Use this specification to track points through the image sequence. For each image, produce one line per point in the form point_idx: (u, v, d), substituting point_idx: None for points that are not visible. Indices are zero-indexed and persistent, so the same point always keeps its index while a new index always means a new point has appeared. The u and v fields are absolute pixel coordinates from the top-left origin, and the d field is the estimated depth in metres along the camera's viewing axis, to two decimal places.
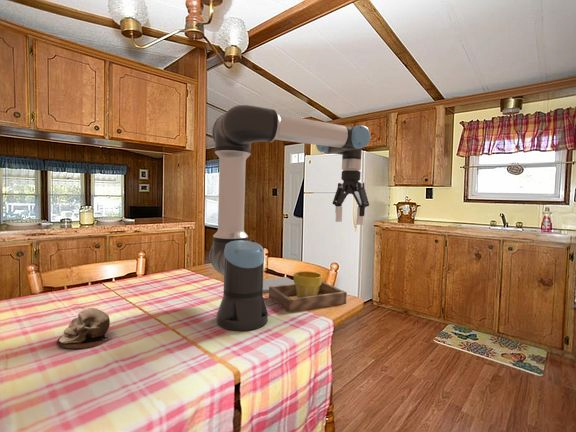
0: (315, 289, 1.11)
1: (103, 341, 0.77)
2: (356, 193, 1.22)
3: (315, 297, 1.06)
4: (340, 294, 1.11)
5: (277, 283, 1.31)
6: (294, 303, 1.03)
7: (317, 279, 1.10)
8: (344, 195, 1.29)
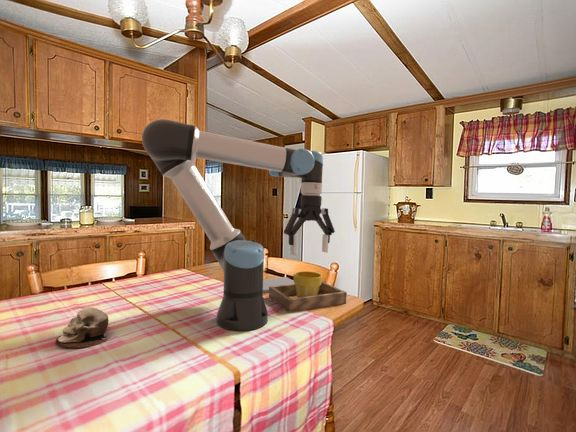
0: (315, 289, 1.11)
1: (102, 340, 0.78)
2: (299, 220, 1.11)
3: (315, 297, 1.06)
4: (340, 294, 1.11)
5: (277, 283, 1.31)
6: (294, 303, 1.03)
7: (317, 279, 1.10)
8: (318, 222, 1.15)
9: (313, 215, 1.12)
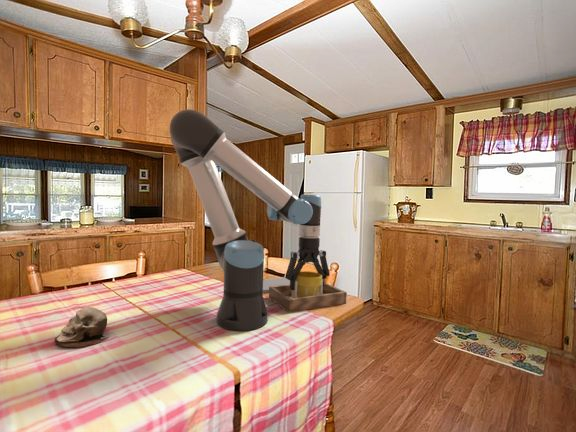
0: (315, 289, 1.11)
1: (101, 340, 0.78)
2: (298, 263, 1.12)
3: (315, 297, 1.06)
4: (340, 294, 1.11)
5: (277, 283, 1.31)
6: (294, 303, 1.03)
7: (317, 279, 1.10)
8: (315, 264, 1.15)
9: (311, 257, 1.13)
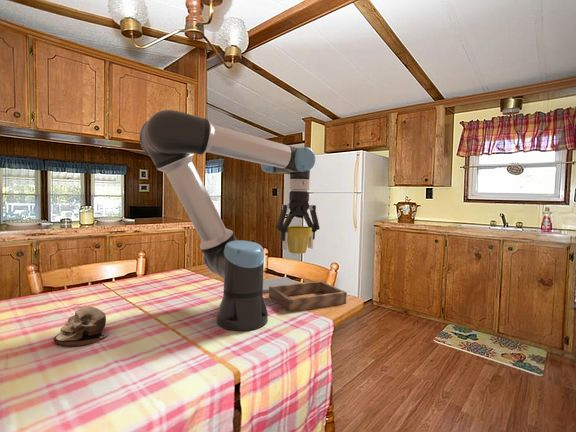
0: (304, 240, 1.16)
1: (100, 338, 0.79)
2: (288, 216, 1.18)
3: (315, 297, 1.06)
4: (340, 294, 1.11)
5: (277, 283, 1.31)
6: (294, 303, 1.03)
7: (306, 230, 1.15)
8: (305, 217, 1.20)
9: (301, 210, 1.18)
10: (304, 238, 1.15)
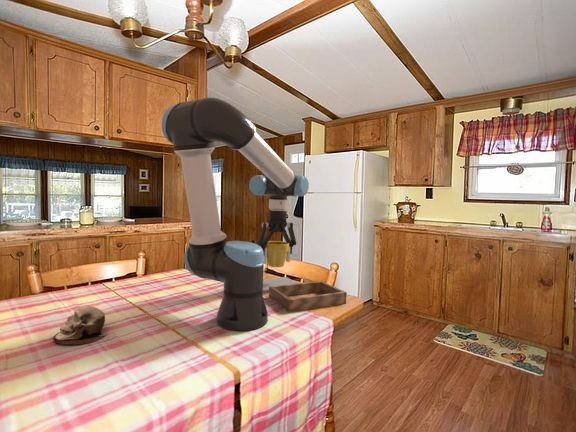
0: (282, 255, 1.28)
1: (99, 337, 0.79)
2: (268, 233, 1.29)
3: (315, 297, 1.06)
4: (340, 294, 1.11)
5: (277, 283, 1.31)
6: (294, 303, 1.03)
7: (283, 246, 1.27)
8: (283, 234, 1.32)
9: (279, 227, 1.30)
10: (282, 253, 1.27)
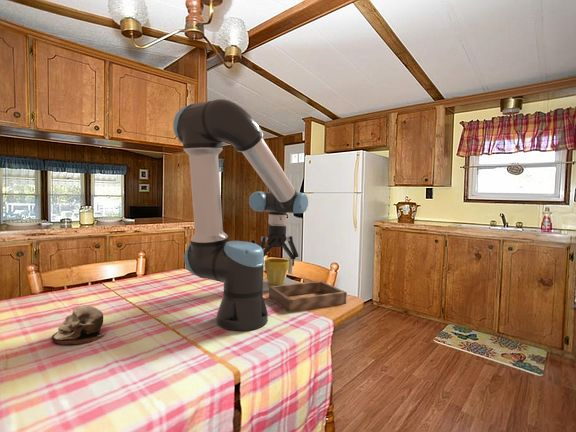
0: (282, 273, 1.28)
1: (98, 337, 0.79)
2: (266, 246, 1.29)
3: (315, 297, 1.06)
4: (340, 294, 1.11)
5: None
6: (294, 303, 1.03)
7: (283, 264, 1.27)
8: (284, 248, 1.32)
9: (279, 242, 1.30)
10: (282, 271, 1.28)
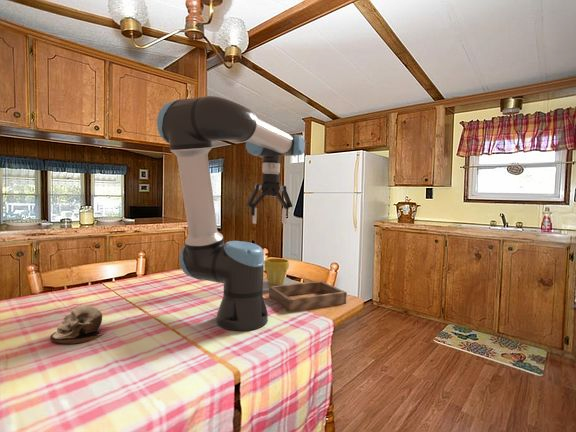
0: (282, 273, 1.28)
1: (96, 336, 0.80)
2: (260, 194, 1.31)
3: (315, 297, 1.06)
4: (340, 294, 1.11)
5: None
6: (294, 303, 1.03)
7: (283, 264, 1.27)
8: (277, 197, 1.34)
9: (272, 191, 1.32)
10: (282, 271, 1.28)
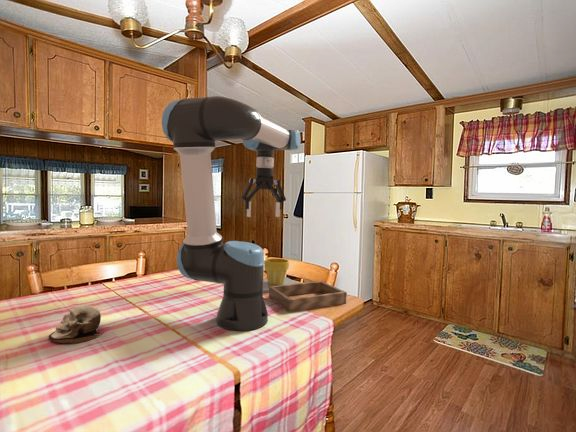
0: (282, 273, 1.28)
1: (95, 336, 0.80)
2: (254, 188, 1.33)
3: (315, 297, 1.06)
4: (340, 294, 1.11)
5: None
6: (294, 303, 1.03)
7: (283, 264, 1.27)
8: (271, 191, 1.37)
9: (266, 185, 1.34)
10: (282, 271, 1.28)
